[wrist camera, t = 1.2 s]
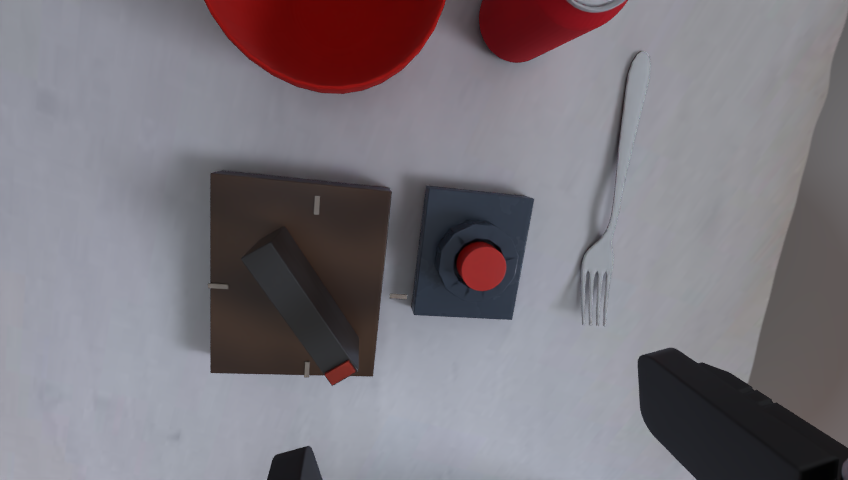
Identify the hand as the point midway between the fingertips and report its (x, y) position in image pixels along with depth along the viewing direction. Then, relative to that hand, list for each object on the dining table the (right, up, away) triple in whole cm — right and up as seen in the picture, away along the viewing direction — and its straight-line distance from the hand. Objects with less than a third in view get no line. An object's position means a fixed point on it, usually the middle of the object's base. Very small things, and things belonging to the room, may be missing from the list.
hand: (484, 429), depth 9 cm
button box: (+2, +3, +26) cm, 26 cm away
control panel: (-12, +2, +24) cm, 27 cm away
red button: (+3, +3, +23) cm, 24 cm away
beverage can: (+6, +22, +22) cm, 32 cm away
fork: (+15, +9, +27) cm, 32 cm away
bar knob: (-10, 0, +22) cm, 25 cm away
